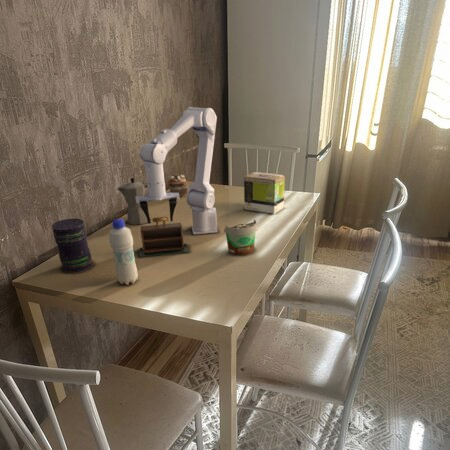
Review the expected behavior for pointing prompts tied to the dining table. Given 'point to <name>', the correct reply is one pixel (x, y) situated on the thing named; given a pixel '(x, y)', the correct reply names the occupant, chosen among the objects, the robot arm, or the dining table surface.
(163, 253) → the flat teal board
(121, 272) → the bottle
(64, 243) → the storage jar
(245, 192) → the tea box
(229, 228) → the food container
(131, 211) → the coffeepot
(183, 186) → the cupcake
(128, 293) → the dining table surface
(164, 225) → the drawer
